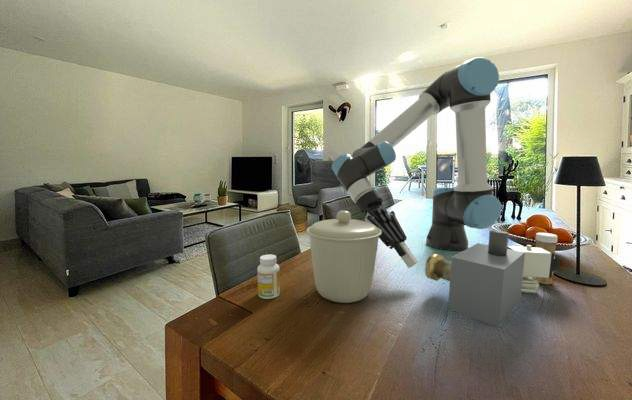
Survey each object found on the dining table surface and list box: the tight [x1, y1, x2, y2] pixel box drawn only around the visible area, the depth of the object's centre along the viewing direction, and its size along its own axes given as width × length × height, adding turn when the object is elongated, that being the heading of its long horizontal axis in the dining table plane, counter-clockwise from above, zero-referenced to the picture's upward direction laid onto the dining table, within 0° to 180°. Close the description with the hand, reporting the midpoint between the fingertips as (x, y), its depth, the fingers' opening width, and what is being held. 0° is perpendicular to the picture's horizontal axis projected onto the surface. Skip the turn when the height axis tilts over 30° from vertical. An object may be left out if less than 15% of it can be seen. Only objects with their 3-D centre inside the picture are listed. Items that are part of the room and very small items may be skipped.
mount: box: [447, 243, 525, 328], centre depth 65 cm, size 10×16×12 cm, turn 132°
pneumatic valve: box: [507, 244, 560, 294], centre depth 73 cm, size 6×12×12 cm, turn 78°
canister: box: [306, 210, 382, 304], centre depth 70 cm, size 18×18×21 cm
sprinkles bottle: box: [532, 232, 558, 285], centre depth 78 cm, size 5×5×13 cm
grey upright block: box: [487, 229, 509, 256], centre depth 65 cm, size 4×4×5 cm
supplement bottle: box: [256, 254, 281, 300], centre depth 70 cm, size 5×5×10 cm
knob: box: [424, 252, 451, 282], centre depth 69 cm, size 9×6×6 cm
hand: (413, 265), depth 76 cm, fingers closed
